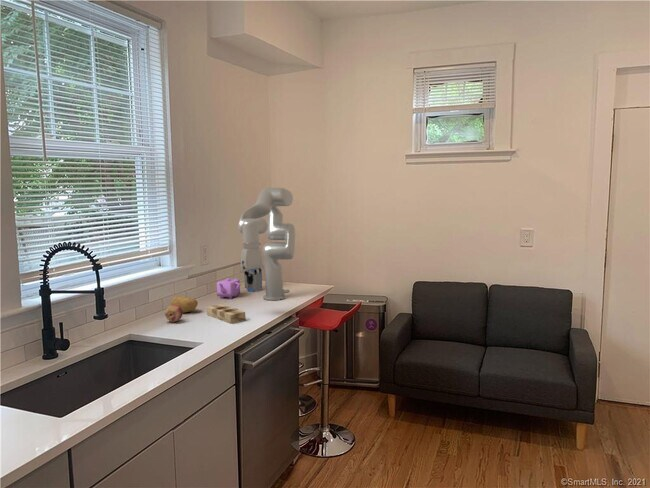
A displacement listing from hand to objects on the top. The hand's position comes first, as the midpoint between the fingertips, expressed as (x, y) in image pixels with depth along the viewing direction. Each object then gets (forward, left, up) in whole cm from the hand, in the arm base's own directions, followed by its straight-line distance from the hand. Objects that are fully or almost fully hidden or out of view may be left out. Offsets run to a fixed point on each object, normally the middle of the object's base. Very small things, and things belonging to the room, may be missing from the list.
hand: (252, 283), depth 241 cm
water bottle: (-34, -49, -16) cm, 61 cm away
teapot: (-13, -44, -16) cm, 48 cm away
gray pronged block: (0, 0, -3) cm, 3 cm away
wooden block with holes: (+12, -6, -16) cm, 21 cm away
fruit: (+33, -17, -16) cm, 41 cm away
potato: (+21, -30, -16) cm, 40 cm away
